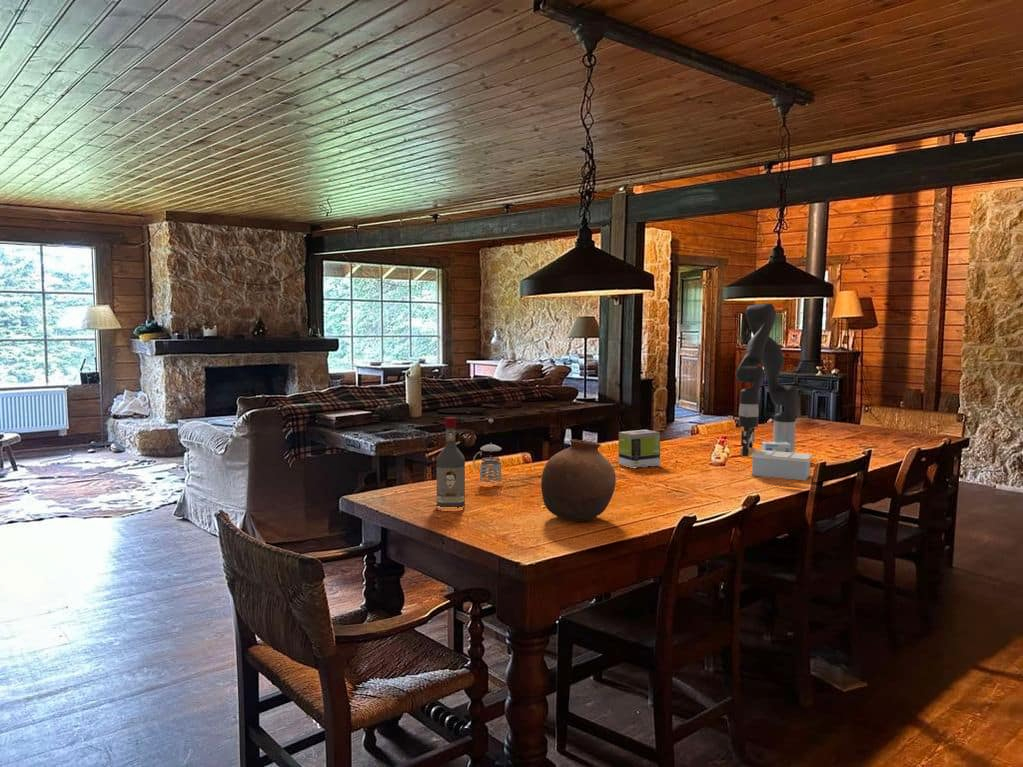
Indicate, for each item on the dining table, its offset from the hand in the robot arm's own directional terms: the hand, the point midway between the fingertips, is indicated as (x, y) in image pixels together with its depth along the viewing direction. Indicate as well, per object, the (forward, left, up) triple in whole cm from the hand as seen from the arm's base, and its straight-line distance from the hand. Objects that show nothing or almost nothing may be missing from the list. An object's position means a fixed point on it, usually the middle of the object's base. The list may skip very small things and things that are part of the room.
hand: (747, 454), depth 301 cm
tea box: (+4, -44, -8) cm, 45 cm away
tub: (0, +13, -8) cm, 15 cm away
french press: (+67, -82, -8) cm, 106 cm away
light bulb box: (-20, +8, -8) cm, 23 cm away
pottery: (+96, -33, -8) cm, 102 cm away
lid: (0, +11, 0) cm, 11 cm away
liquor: (+104, -75, -8) cm, 129 cm away
